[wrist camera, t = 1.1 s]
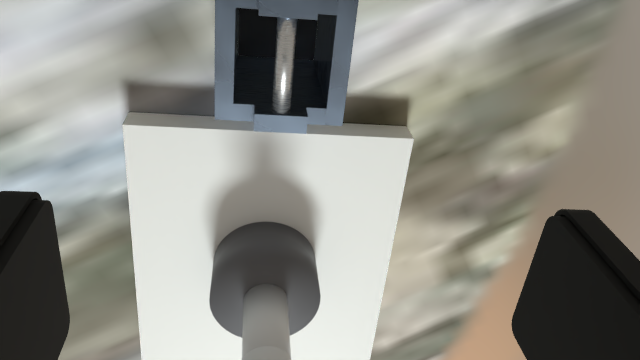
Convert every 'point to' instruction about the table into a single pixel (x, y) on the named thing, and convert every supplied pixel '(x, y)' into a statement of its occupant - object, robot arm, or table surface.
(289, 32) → the coupler
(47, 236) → the robot arm
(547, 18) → the table surface
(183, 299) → the shaft mount
